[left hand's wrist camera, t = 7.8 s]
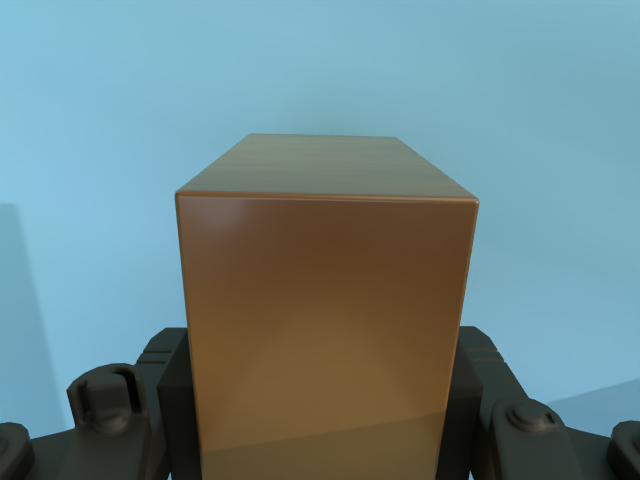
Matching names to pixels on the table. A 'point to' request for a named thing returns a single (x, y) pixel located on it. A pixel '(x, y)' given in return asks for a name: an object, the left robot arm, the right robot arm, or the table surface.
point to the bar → (322, 306)
